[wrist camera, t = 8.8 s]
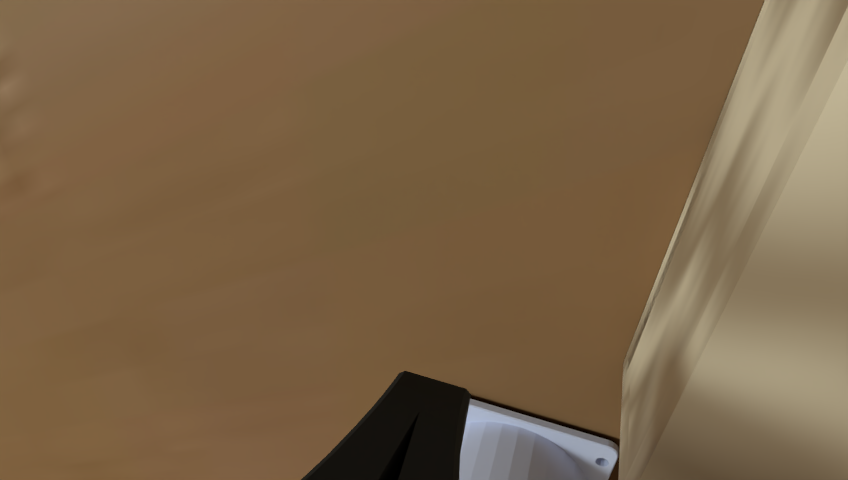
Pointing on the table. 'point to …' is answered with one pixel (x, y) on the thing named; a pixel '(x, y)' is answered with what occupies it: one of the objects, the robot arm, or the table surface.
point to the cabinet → (755, 277)
